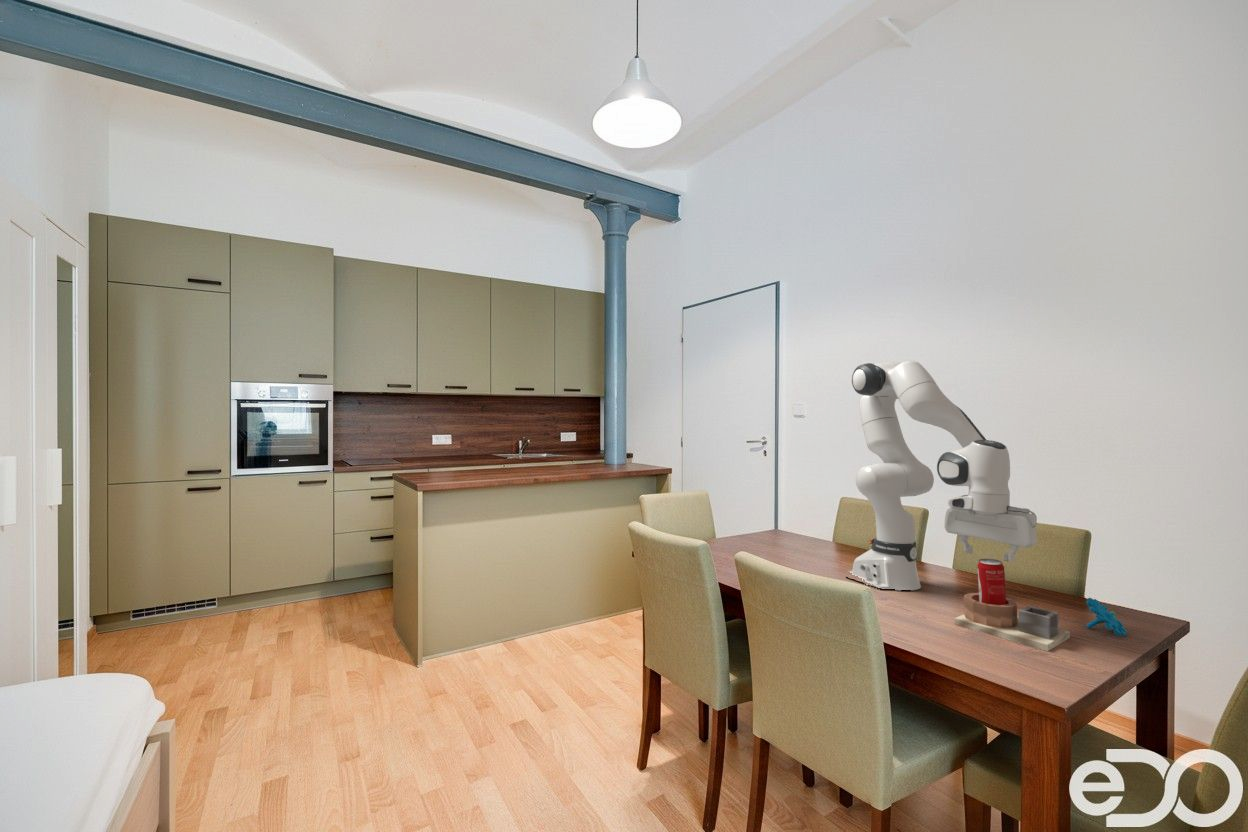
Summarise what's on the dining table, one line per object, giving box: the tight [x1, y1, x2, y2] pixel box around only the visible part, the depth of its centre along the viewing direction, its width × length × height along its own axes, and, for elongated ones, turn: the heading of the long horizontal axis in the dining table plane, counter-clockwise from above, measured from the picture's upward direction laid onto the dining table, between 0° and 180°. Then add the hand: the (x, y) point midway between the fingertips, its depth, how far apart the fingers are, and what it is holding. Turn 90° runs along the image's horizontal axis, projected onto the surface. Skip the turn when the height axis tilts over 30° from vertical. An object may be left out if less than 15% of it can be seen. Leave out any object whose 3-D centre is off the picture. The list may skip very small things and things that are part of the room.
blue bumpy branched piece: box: [1085, 597, 1128, 637], centre depth 136 cm, size 11×6×10 cm
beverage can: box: [977, 558, 1007, 605], centre depth 139 cm, size 6×6×15 cm
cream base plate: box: [953, 592, 1071, 652], centre depth 135 cm, size 20×14×6 cm
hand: (987, 556), depth 140 cm, fingers open, 8 cm apart
